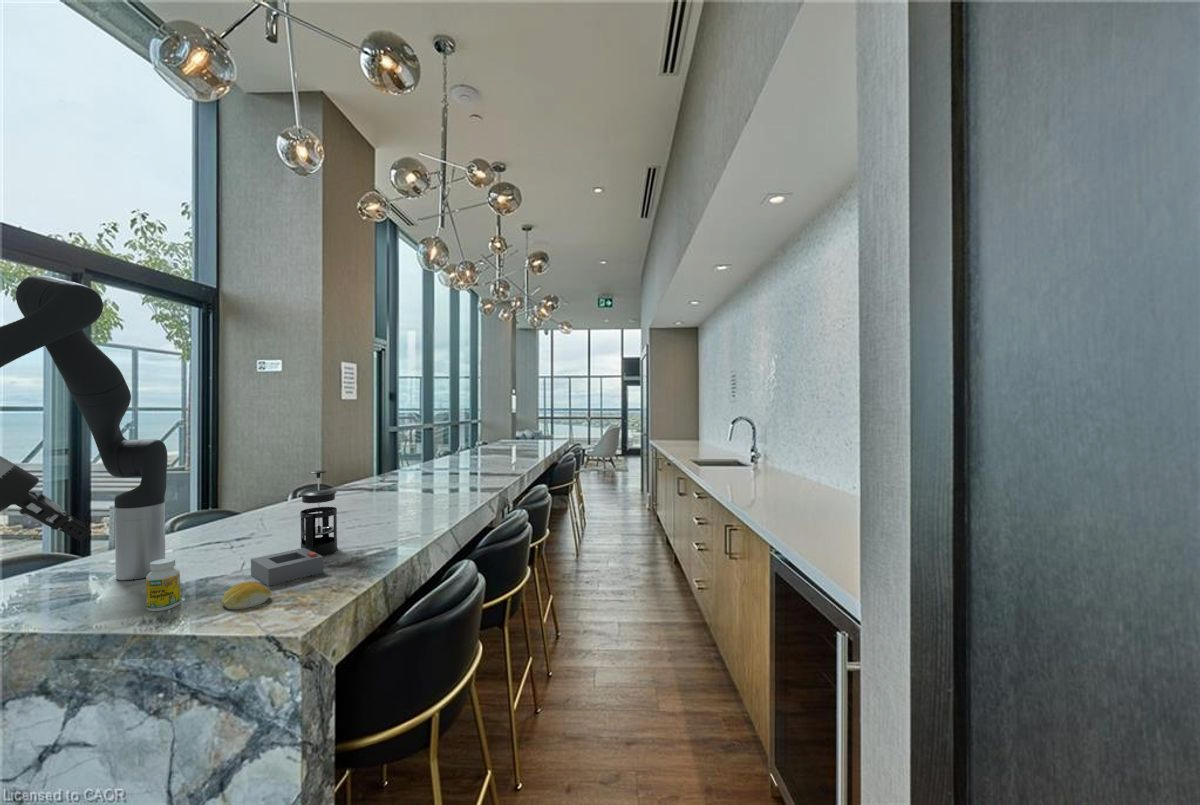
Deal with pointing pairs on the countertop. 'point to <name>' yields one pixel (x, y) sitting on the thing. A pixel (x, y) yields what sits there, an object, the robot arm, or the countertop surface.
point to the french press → (308, 529)
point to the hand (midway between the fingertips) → (83, 533)
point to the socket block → (286, 566)
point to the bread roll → (245, 595)
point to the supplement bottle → (163, 585)
